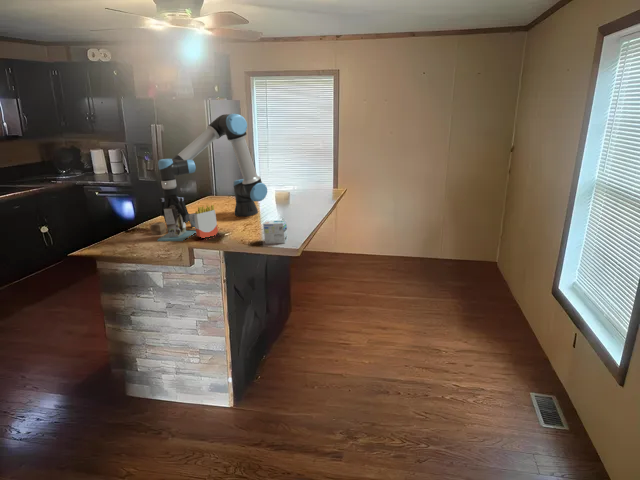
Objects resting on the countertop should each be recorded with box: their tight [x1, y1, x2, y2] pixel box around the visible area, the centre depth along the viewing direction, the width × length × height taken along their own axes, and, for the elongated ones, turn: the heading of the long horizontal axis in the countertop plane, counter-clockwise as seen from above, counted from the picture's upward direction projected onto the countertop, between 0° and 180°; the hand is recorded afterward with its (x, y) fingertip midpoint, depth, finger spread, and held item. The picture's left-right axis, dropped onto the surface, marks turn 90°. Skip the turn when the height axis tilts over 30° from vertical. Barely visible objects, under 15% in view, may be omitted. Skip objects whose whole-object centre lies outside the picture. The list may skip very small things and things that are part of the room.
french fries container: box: [194, 204, 219, 239], centre depth 237 cm, size 5×11×18 cm, turn 133°
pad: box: [157, 230, 196, 242], centre depth 245 cm, size 16×16×1 cm
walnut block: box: [149, 221, 168, 236], centre depth 255 cm, size 6×6×6 cm
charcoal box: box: [185, 212, 190, 223], centre depth 278 cm, size 6×8×5 cm
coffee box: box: [164, 204, 187, 237], centre depth 243 cm, size 9×6×16 cm
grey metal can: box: [189, 212, 195, 228], centre depth 263 cm, size 6×6×8 cm
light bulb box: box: [262, 219, 289, 245], centre depth 222 cm, size 11×7×11 cm, turn 81°
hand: (176, 227), depth 244 cm, fingers open, 8 cm apart
